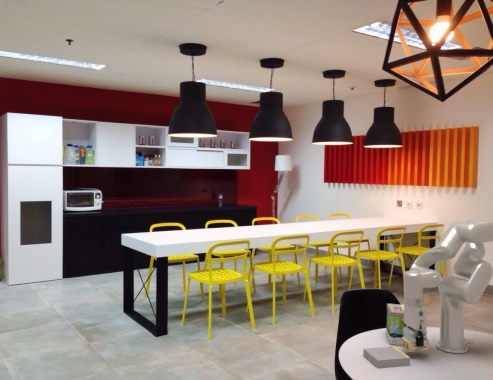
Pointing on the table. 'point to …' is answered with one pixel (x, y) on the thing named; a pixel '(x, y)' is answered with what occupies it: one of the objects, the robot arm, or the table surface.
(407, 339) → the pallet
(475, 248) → the robot arm
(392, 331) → the tea box
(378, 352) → the dock
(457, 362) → the table surface
